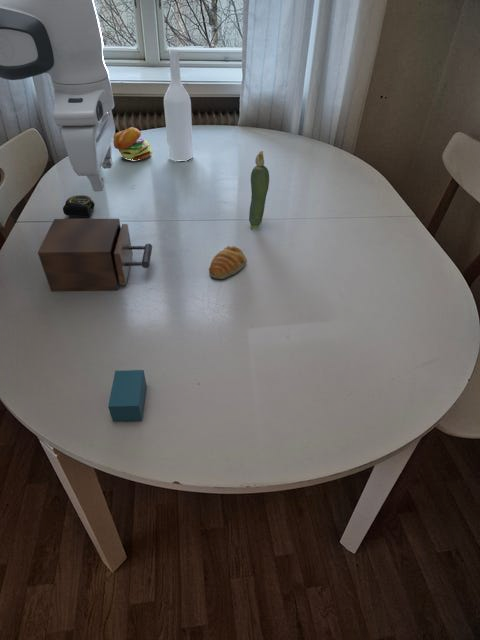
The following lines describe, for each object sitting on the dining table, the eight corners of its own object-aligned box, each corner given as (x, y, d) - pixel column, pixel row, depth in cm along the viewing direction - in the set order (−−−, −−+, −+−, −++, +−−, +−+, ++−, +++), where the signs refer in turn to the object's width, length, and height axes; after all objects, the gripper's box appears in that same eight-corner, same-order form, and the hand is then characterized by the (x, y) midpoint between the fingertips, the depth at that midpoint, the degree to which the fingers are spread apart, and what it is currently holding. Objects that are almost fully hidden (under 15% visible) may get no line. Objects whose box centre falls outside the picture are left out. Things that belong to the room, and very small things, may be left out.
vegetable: (250, 222, 111) (254, 144, 97) (266, 224, 110) (272, 146, 97) (246, 231, 108) (250, 151, 94) (263, 233, 107) (269, 153, 93)
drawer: (154, 253, 98) (151, 223, 93) (150, 284, 90) (145, 253, 84) (76, 254, 97) (68, 223, 92) (64, 285, 89) (54, 254, 83)
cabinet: (126, 255, 99) (119, 218, 92) (117, 290, 89) (109, 251, 83) (65, 256, 98) (54, 218, 91) (51, 291, 89) (37, 252, 82)
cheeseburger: (154, 161, 136) (143, 130, 129) (122, 171, 136) (109, 141, 129) (152, 148, 143) (141, 118, 136) (121, 158, 143) (109, 128, 136)
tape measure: (64, 219, 110) (60, 205, 107) (74, 206, 115) (70, 193, 112) (90, 221, 109) (86, 207, 107) (99, 208, 114) (96, 194, 112)
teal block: (142, 421, 66) (138, 405, 64) (112, 422, 66) (107, 406, 63) (146, 385, 72) (143, 369, 69) (119, 385, 71) (115, 370, 69)
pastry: (227, 285, 92) (227, 271, 89) (201, 275, 94) (200, 261, 91) (248, 263, 98) (249, 249, 95) (223, 254, 100) (223, 240, 97)
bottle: (172, 163, 136) (162, 54, 115) (165, 153, 141) (156, 48, 121) (196, 160, 138) (191, 52, 118) (189, 151, 144) (183, 46, 123)
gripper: (79, 79, 77) (96, 155, 87) (49, 118, 63) (74, 204, 72) (114, 78, 78) (128, 154, 87) (93, 117, 63) (112, 203, 72)
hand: (103, 177), depth 79 cm, fingers open, 8 cm apart
